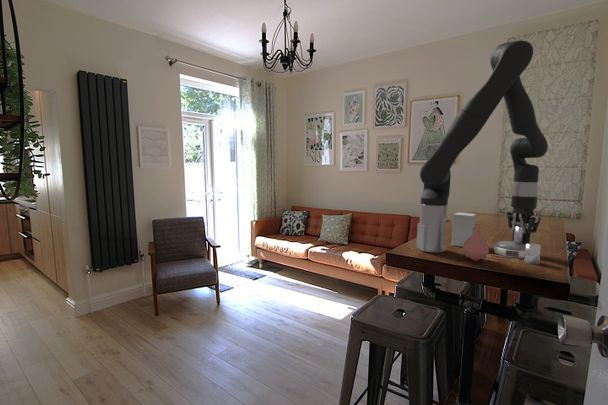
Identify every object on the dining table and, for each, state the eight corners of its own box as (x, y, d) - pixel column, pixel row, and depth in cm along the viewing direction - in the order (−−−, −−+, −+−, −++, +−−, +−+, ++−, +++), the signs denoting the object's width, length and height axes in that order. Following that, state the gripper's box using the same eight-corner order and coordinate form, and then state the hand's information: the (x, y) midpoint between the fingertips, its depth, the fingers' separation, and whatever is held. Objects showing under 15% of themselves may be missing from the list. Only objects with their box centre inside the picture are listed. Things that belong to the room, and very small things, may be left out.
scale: (507, 258, 108) (508, 248, 107) (487, 249, 119) (488, 241, 118) (539, 257, 108) (540, 248, 108) (516, 249, 119) (516, 241, 119)
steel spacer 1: (530, 244, 111) (531, 228, 110) (519, 244, 111) (520, 228, 110) (521, 242, 115) (523, 225, 114) (511, 242, 115) (512, 225, 114)
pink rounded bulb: (458, 256, 110) (460, 222, 108) (481, 256, 109) (483, 222, 108) (467, 262, 102) (470, 226, 101) (492, 263, 101) (495, 227, 100)
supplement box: (471, 248, 121) (473, 215, 119) (450, 245, 125) (452, 214, 124) (474, 244, 126) (476, 213, 125) (454, 241, 131) (456, 212, 130)
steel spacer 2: (530, 264, 101) (531, 246, 100) (521, 260, 105) (522, 243, 104) (542, 264, 101) (544, 246, 100) (532, 260, 105) (534, 243, 104)
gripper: (551, 196, 104) (546, 247, 106) (520, 193, 118) (516, 237, 120) (529, 196, 104) (524, 247, 106) (500, 193, 118) (497, 237, 120)
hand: (520, 242), depth 113 cm, fingers closed on steel spacer 1, 4 cm apart
